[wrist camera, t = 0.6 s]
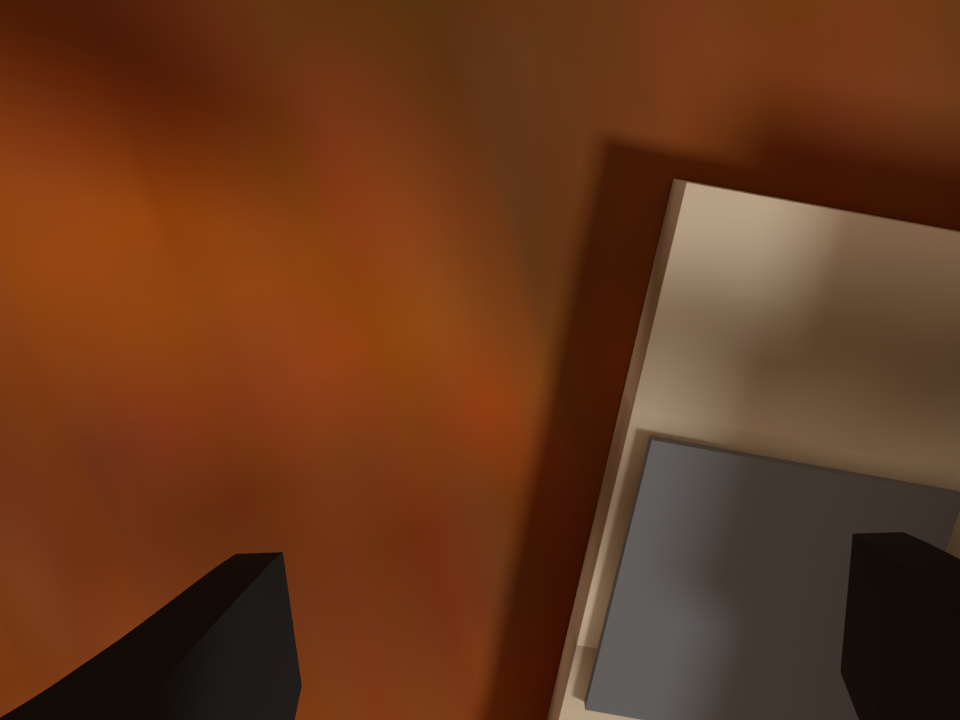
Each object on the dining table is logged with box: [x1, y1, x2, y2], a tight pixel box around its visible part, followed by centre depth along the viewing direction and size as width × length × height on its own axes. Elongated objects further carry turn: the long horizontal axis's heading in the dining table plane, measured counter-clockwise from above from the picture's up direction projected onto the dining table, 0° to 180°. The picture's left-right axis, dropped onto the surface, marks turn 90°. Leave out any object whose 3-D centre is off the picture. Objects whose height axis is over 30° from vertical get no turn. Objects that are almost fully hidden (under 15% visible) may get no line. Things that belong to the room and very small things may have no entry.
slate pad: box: [584, 435, 960, 720], centre depth 20 cm, size 7×7×1 cm
